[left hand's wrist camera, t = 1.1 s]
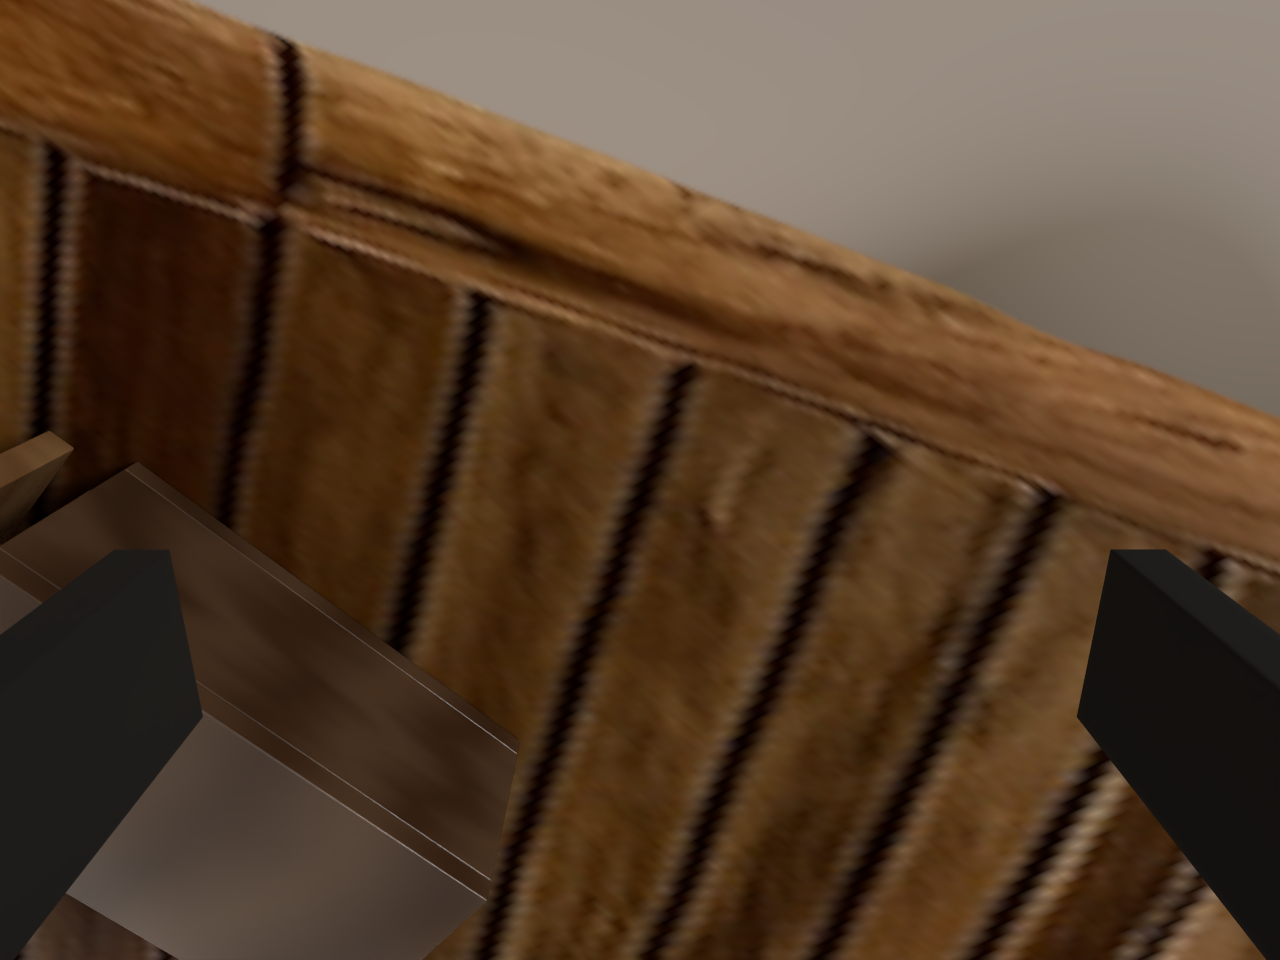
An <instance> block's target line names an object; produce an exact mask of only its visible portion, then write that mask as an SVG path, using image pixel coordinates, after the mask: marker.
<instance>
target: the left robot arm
mask: <svg viewBox="0 0 1280 960" xmlns="http://www.w3.org/2000/svg"><path fill="white" fill-rule="evenodd" d="M202 718H203V714H202V709H201V704H200V699H199V694H198V689H197V684H196V679H195V674H194V669H193V664H192V659H191V654H190V649H189V645H188V640H187V635H186V630H185V625H184V620H183V615H182V610H181V605H180V600H179V595H178V590H177V585H176V580H175V575H174V570H173V565H172V561H171V556H170V551H169V550H113V551H112V552H110V553H109V554H108V555H106V556H105V557H104V558H102V559H101V560H100V561H98V562H97V563H96V564H94V565H93V566H92V567H90V568H89V569H88V570H86V571H85V572H84V573H82V574H81V575H80V576H78V577H77V578H76V579H74V580H73V581H72V582H70V583H69V584H68V585H66V586H65V587H64V588H62V589H61V590H60V591H58V592H57V593H56V594H54V595H53V596H51V597H50V598H49V599H47V600H46V601H45V602H43V603H42V604H41V605H39V606H38V607H37V608H35V609H34V610H33V611H31V612H30V613H29V614H27V615H26V616H25V617H23V618H22V619H21V620H19V621H18V622H17V623H15V624H14V625H13V626H11V627H10V628H9V629H7V630H6V631H5V632H3V633H2V634H1V635H0V960H14V959H15V957H16V956H17V955H18V953H19V952H20V951H21V950H22V948H23V947H24V946H25V944H26V943H27V942H28V941H29V939H30V938H31V937H32V935H33V934H34V933H35V932H36V930H37V929H38V928H39V927H40V925H41V924H42V923H43V921H44V920H45V919H46V918H47V916H48V915H49V914H50V912H51V911H52V910H53V909H54V907H55V906H56V905H57V903H58V902H59V901H60V900H61V898H62V897H63V896H64V894H65V893H66V892H67V891H68V889H69V888H70V887H71V886H72V884H73V883H74V882H75V880H76V879H77V878H78V877H79V875H80V874H81V873H82V871H83V870H84V869H85V868H86V866H87V865H88V864H89V862H90V861H91V860H92V859H93V857H94V856H95V855H96V853H97V852H98V851H99V850H100V848H101V847H102V846H103V845H104V843H105V842H106V841H107V839H108V838H109V837H110V836H111V834H112V833H113V832H114V830H115V829H116V828H117V827H118V825H119V824H120V823H121V821H122V820H123V819H124V818H125V816H126V815H127V814H128V812H129V811H130V810H131V809H132V807H133V806H134V805H135V804H136V802H137V801H138V800H139V798H140V797H141V796H142V795H143V793H144V792H145V791H146V789H147V788H148V787H149V786H150V784H151V783H152V782H153V780H154V779H155V778H156V777H157V775H158V774H159V773H160V771H161V770H162V769H163V768H164V766H165V765H166V764H167V763H168V761H169V760H170V759H171V757H172V756H173V755H174V754H175V752H176V751H177V750H178V748H179V747H180V746H181V745H182V743H183V742H184V741H185V739H186V738H187V737H188V736H189V734H190V733H191V732H192V730H193V729H194V728H195V727H196V725H197V724H198V723H199V722H200V720H201V719H202ZM1077 718H1078V719H1079V720H1080V722H1081V723H1082V724H1083V725H1084V727H1085V728H1086V729H1087V730H1088V732H1089V733H1090V734H1091V736H1092V737H1093V738H1094V739H1095V741H1096V742H1097V743H1098V745H1099V746H1100V747H1101V748H1102V750H1103V751H1104V752H1105V754H1106V755H1107V756H1108V757H1109V759H1110V760H1111V761H1112V763H1113V764H1114V765H1115V766H1116V768H1117V769H1118V770H1119V771H1120V773H1121V774H1122V775H1123V777H1124V778H1125V779H1126V780H1127V782H1128V783H1129V784H1130V786H1131V787H1132V788H1133V789H1134V791H1135V792H1136V793H1137V795H1138V796H1139V797H1140V798H1141V800H1142V801H1143V802H1144V804H1145V805H1146V806H1147V807H1148V809H1149V810H1150V811H1151V812H1152V814H1153V815H1154V816H1155V818H1156V819H1157V820H1158V821H1159V823H1160V824H1161V825H1162V827H1163V828H1164V829H1165V830H1166V832H1167V833H1168V834H1169V836H1170V837H1171V838H1172V839H1173V841H1174V842H1175V843H1176V845H1177V846H1178V847H1179V848H1180V850H1181V851H1182V852H1183V853H1184V855H1185V856H1186V857H1187V859H1188V860H1189V861H1190V862H1191V864H1192V865H1193V866H1194V868H1195V869H1196V870H1197V871H1198V873H1199V874H1200V875H1201V877H1202V878H1203V879H1204V880H1205V882H1206V883H1207V884H1208V886H1209V887H1210V888H1211V889H1212V891H1213V892H1214V893H1215V894H1216V896H1217V897H1218V898H1219V900H1220V901H1221V902H1222V903H1223V905H1224V906H1225V907H1226V909H1227V910H1228V911H1229V912H1230V914H1231V915H1232V916H1233V918H1234V919H1235V920H1236V921H1237V923H1238V924H1239V925H1240V927H1241V928H1242V929H1243V930H1244V932H1245V933H1246V934H1247V935H1248V937H1249V938H1250V939H1251V941H1252V942H1253V943H1254V944H1255V946H1256V947H1257V948H1258V950H1259V951H1260V952H1261V953H1262V955H1263V956H1264V957H1265V959H1266V960H1280V635H1279V634H1278V633H1277V632H1275V631H1274V630H1273V629H1271V628H1270V627H1269V626H1267V625H1266V624H1265V623H1263V622H1262V621H1261V620H1259V619H1258V618H1257V617H1255V616H1254V615H1253V614H1251V613H1250V612H1249V611H1247V610H1246V609H1245V608H1243V607H1242V606H1241V605H1239V604H1238V603H1237V602H1235V601H1234V600H1233V599H1231V598H1230V597H1229V596H1227V595H1226V594H1224V593H1223V592H1222V591H1220V590H1219V589H1218V588H1216V587H1215V586H1214V585H1212V584H1211V583H1210V582H1208V581H1207V580H1206V579H1204V578H1203V577H1202V576H1200V575H1199V574H1198V573H1196V572H1195V571H1194V570H1192V569H1191V568H1190V567H1188V566H1187V565H1186V564H1184V563H1183V562H1182V561H1180V560H1179V559H1178V558H1176V557H1175V556H1174V555H1172V554H1171V553H1170V552H1168V551H1167V550H1111V551H1110V556H1109V561H1108V565H1107V570H1106V575H1105V580H1104V585H1103V590H1102V595H1101V600H1100V605H1099V610H1098V615H1097V620H1096V625H1095V630H1094V635H1093V640H1092V645H1091V649H1090V654H1089V659H1088V664H1087V669H1086V674H1085V679H1084V684H1083V689H1082V694H1081V699H1080V704H1079V709H1078V714H1077Z"/></svg>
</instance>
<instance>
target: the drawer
mask: <svg viewBox="0 0 1280 960" xmlns="http://www.w3.org/2000/svg"><path fill="white" fill-rule="evenodd" d="M73 449H74V448H73V447H72V446H70V445H69V444H68V443H66V442H65V441H63V440H62V439H61V438H59V437H58V436H56V435H55V434H54V433H52V432H51V431H47V432H45V433H43V434H41V435H39V436H37V437H34V438H32V439H30V440H28V441H26V442H24V443H22V444H20V445H18V446H15V447H13V448H11V449H9V450H7V451H5V452H3V453H1V454H0V546H1V545H3V544H4V543H6V542H7V541H8V539H9V538H10V536H11V535H12V534H13V532H14V531H15V530H16V528H17V527H18V525H19V524H20V523H21V521H22V520H23V519H24V517H25V516H26V514H27V513H28V512H29V510H30V509H31V508H32V506H33V505H34V503H35V502H36V501H37V499H38V498H39V496H40V495H41V494H42V492H43V491H44V490H45V488H46V487H47V485H48V484H49V483H50V481H51V480H52V479H53V477H54V476H55V474H56V473H57V472H58V470H59V469H60V468H61V466H62V465H63V463H64V462H65V461H66V459H67V458H68V456H69V455H70V454H71V452H72V451H73ZM89 491H90V490H89ZM86 493H87V492H86ZM84 494H85V493H84ZM84 494H83V495H84ZM81 496H82V495H81ZM73 501H74V500H73ZM70 503H71V502H70ZM65 506H66V505H65ZM62 508H63V507H62ZM60 509H61V508H60ZM57 511H58V510H57ZM52 514H53V513H52ZM49 516H50V515H49ZM47 517H48V516H47ZM44 519H45V518H44ZM39 522H40V521H39ZM36 524H37V523H36ZM31 527H32V526H31ZM28 529H29V528H28ZM26 530H27V529H26ZM23 532H24V531H23ZM18 535H19V534H18ZM15 537H16V536H15ZM13 538H14V537H13ZM10 540H11V539H10Z"/></svg>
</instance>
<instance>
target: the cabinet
mask: <svg viewBox="0 0 1280 960" xmlns="http://www.w3.org/2000/svg"><path fill="white" fill-rule="evenodd" d="M113 550H169V551H170V556H171V561H172V565H173V570H174V575H175V580H176V585H177V590H178V595H179V600H180V605H181V610H182V615H183V620H184V625H185V630H186V635H187V640H188V645H189V649H190V654H191V659H192V664H193V669H194V674H195V679H196V684H197V689H198V694H199V699H200V704H201V709H202V714H203V718H202V719H201V720H200V722H199V723H198V724H197V725H196V727H195V728H194V729H193V730H192V732H191V733H190V734H189V736H188V737H187V738H186V739H185V741H184V742H183V743H182V745H181V746H180V747H179V748H178V750H177V751H176V752H175V754H174V755H173V756H172V757H171V759H170V760H169V761H168V763H167V764H166V765H165V766H164V768H163V769H162V770H161V771H160V773H159V774H158V775H157V777H156V778H155V779H154V780H153V782H152V783H151V784H150V786H149V787H148V788H147V789H146V791H145V792H144V793H143V795H142V796H141V797H140V798H139V800H138V801H137V802H136V804H135V805H134V806H133V807H132V809H131V810H130V811H129V812H128V814H127V815H126V816H125V818H124V819H123V820H122V821H121V823H120V824H119V825H118V827H117V828H116V829H115V830H114V832H113V833H112V834H111V836H110V837H109V838H108V839H107V841H106V842H105V843H104V845H103V846H102V847H101V848H100V850H99V851H98V852H97V853H96V855H95V856H94V857H93V859H92V860H91V861H90V862H89V864H88V865H87V866H86V868H85V869H84V870H83V871H82V873H81V874H80V875H79V877H78V878H77V879H76V880H75V882H74V883H73V884H72V886H71V887H70V888H69V889H68V891H67V892H66V894H68V895H70V896H72V897H73V898H75V899H77V900H78V901H80V902H82V903H83V904H85V905H87V906H89V907H90V908H92V909H94V910H95V911H97V912H99V913H101V914H102V915H104V916H106V917H107V918H109V919H111V920H113V921H114V922H116V923H118V924H119V925H121V926H123V927H124V928H126V929H128V930H130V931H131V932H133V933H135V934H136V935H138V936H140V937H142V938H143V939H145V940H147V941H148V942H150V943H152V944H154V945H155V946H157V947H159V948H160V949H162V950H164V951H165V952H167V953H169V954H171V955H172V956H174V957H176V958H177V959H179V960H422V959H423V958H424V957H425V956H426V955H427V954H428V953H430V952H431V951H432V950H433V949H434V948H435V947H436V946H437V945H438V944H440V943H441V942H442V941H443V940H444V939H445V938H446V937H447V936H449V935H450V934H451V933H452V932H453V931H454V930H455V929H456V928H457V927H459V926H460V925H461V924H462V923H463V922H464V921H465V920H466V919H467V918H469V917H470V916H471V915H472V914H473V913H474V912H475V911H476V910H478V909H479V908H480V907H481V906H482V905H483V904H484V903H485V902H486V901H487V899H488V894H489V889H490V884H491V880H492V875H493V871H494V866H495V861H496V856H497V851H498V846H499V842H500V837H501V832H502V827H503V822H504V817H505V813H506V808H507V803H508V798H509V793H510V788H511V783H512V779H513V774H514V769H515V764H516V759H517V754H518V749H519V744H520V741H519V740H518V739H516V738H515V737H514V736H512V735H511V734H510V733H508V732H507V731H505V730H504V729H503V728H501V727H500V726H499V725H497V724H496V723H495V722H493V721H492V720H490V719H489V718H488V717H486V716H485V715H484V714H482V713H481V712H479V711H478V710H477V709H475V708H474V707H473V706H471V705H470V704H469V703H467V702H466V701H464V700H463V699H462V698H460V697H459V696H458V695H456V694H455V693H453V692H452V691H451V690H449V689H448V688H447V687H445V686H444V685H443V684H441V683H440V682H438V681H437V680H436V679H434V678H433V677H432V676H430V675H429V674H427V673H426V672H425V671H423V670H422V669H421V668H419V667H418V666H417V665H415V664H414V663H412V662H411V661H410V660H408V659H407V658H406V657H404V656H403V655H401V654H400V653H399V652H397V651H396V650H395V649H393V648H392V647H391V646H389V645H388V644H386V643H385V642H384V641H382V640H381V639H380V638H378V637H377V636H375V635H374V634H373V633H371V632H370V631H369V630H367V629H366V628H365V627H363V626H362V625H360V624H359V623H358V622H356V621H355V620H354V619H352V618H351V617H349V616H348V615H347V614H345V613H344V612H343V611H341V610H340V609H339V608H337V607H336V606H334V605H333V604H332V603H330V602H329V601H328V600H326V599H325V598H323V597H322V596H321V595H319V594H318V593H317V592H315V591H314V590H312V589H311V588H310V587H308V586H307V585H306V584H304V583H303V582H302V581H300V580H299V579H297V578H296V577H295V576H293V575H292V574H291V573H289V572H288V571H286V570H285V569H284V568H282V567H281V566H280V565H278V564H277V563H276V562H274V561H273V560H271V559H270V558H269V557H267V556H266V555H265V554H263V553H262V552H260V551H259V550H258V549H256V548H255V547H254V546H252V545H251V544H250V543H248V542H247V541H245V540H244V539H243V538H241V537H240V536H239V535H237V534H236V533H234V532H233V531H232V530H230V529H229V528H228V527H226V526H225V525H224V524H222V523H221V522H219V521H218V520H217V519H215V518H214V517H213V516H211V515H210V514H208V513H207V512H206V511H204V510H203V509H202V508H200V507H199V506H198V505H196V504H195V503H193V502H192V501H191V500H189V499H188V498H187V497H185V496H184V495H182V494H181V493H180V492H178V491H177V490H176V489H174V488H173V487H172V486H170V485H169V484H167V483H166V482H165V481H163V480H162V479H161V478H159V477H158V476H156V475H155V474H154V473H152V472H151V471H150V470H148V469H147V468H146V467H144V466H143V465H141V464H140V463H139V462H136V463H134V464H132V465H131V466H129V467H127V468H126V469H124V470H122V471H121V472H119V473H118V474H116V475H114V476H113V477H111V478H109V479H108V480H106V481H105V482H103V483H101V484H100V485H98V486H97V487H95V488H93V489H92V490H90V491H88V492H87V493H85V494H84V495H82V496H80V497H79V498H77V499H75V500H74V501H72V502H71V503H69V504H67V505H66V506H64V507H63V508H61V509H59V510H58V511H56V512H54V513H53V514H51V515H50V516H48V517H46V518H45V519H43V520H41V521H40V522H38V523H37V524H35V525H33V526H32V527H30V528H29V529H27V530H25V531H24V532H22V533H20V534H19V535H17V536H16V537H14V538H12V539H11V540H9V541H7V542H6V543H4V544H3V545H1V546H0V635H1V634H2V633H3V632H5V631H6V630H7V629H9V628H10V627H11V626H13V625H14V624H15V623H17V622H18V621H19V620H21V619H22V618H23V617H25V616H26V615H27V614H29V613H30V612H31V611H33V610H34V609H35V608H37V607H38V606H39V605H41V604H42V603H43V602H45V601H46V600H47V599H49V598H50V597H51V596H53V595H54V594H56V593H57V592H58V591H60V590H61V589H62V588H64V587H65V586H66V585H68V584H69V583H70V582H72V581H73V580H74V579H76V578H77V577H78V576H80V575H81V574H82V573H84V572H85V571H86V570H88V569H89V568H90V567H92V566H93V565H94V564H96V563H97V562H98V561H100V560H101V559H102V558H104V557H105V556H106V555H108V554H109V553H110V552H112V551H113Z"/></svg>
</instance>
